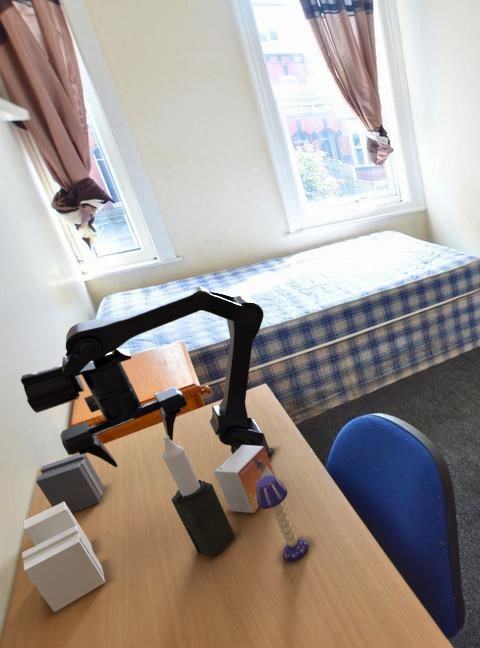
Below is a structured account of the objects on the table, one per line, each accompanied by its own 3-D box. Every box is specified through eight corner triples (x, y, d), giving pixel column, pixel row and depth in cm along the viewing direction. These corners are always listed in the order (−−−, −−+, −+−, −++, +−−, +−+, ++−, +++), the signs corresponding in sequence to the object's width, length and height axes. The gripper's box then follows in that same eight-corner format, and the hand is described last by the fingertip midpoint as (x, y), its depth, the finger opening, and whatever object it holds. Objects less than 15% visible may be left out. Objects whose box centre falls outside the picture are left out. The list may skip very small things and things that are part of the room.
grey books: (104, 487, 104) (84, 452, 100) (100, 502, 100) (78, 466, 96) (64, 501, 101) (42, 465, 97) (58, 517, 97) (34, 481, 93)
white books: (101, 564, 85) (76, 525, 81) (106, 582, 82) (80, 541, 78) (50, 593, 81) (21, 552, 77) (53, 612, 77) (23, 571, 73)
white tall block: (91, 543, 90) (64, 501, 86) (93, 552, 88) (65, 509, 84) (52, 564, 86) (22, 520, 82) (54, 573, 84) (23, 529, 80)
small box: (253, 514, 93) (236, 473, 89) (230, 511, 94) (212, 471, 90) (279, 484, 100) (264, 445, 96) (257, 482, 101) (241, 443, 97)
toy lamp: (280, 567, 81) (250, 495, 75) (279, 547, 85) (250, 477, 78) (309, 554, 83) (282, 483, 77) (307, 535, 87) (281, 466, 80)
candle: (238, 535, 89) (190, 428, 79) (214, 558, 84) (161, 448, 74) (218, 530, 90) (169, 424, 80) (194, 552, 86) (139, 443, 76)
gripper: (159, 354, 98) (186, 415, 105) (41, 396, 86) (79, 462, 93) (172, 370, 91) (200, 434, 97) (46, 417, 79) (87, 487, 85)
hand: (144, 452), depth 93 cm, fingers open, 9 cm apart
